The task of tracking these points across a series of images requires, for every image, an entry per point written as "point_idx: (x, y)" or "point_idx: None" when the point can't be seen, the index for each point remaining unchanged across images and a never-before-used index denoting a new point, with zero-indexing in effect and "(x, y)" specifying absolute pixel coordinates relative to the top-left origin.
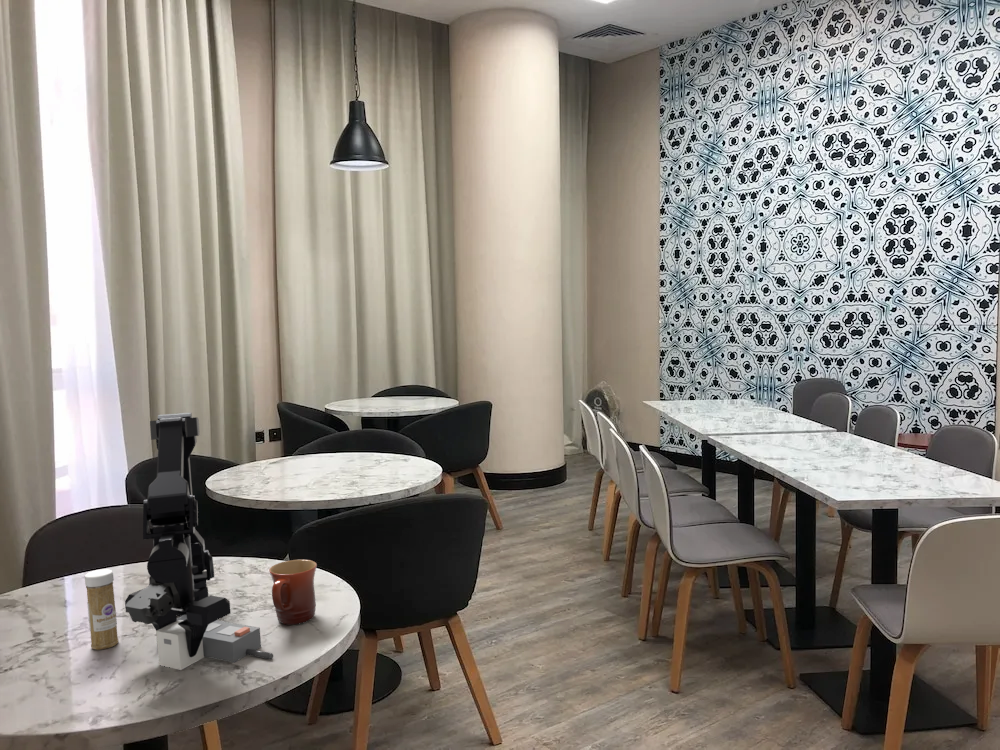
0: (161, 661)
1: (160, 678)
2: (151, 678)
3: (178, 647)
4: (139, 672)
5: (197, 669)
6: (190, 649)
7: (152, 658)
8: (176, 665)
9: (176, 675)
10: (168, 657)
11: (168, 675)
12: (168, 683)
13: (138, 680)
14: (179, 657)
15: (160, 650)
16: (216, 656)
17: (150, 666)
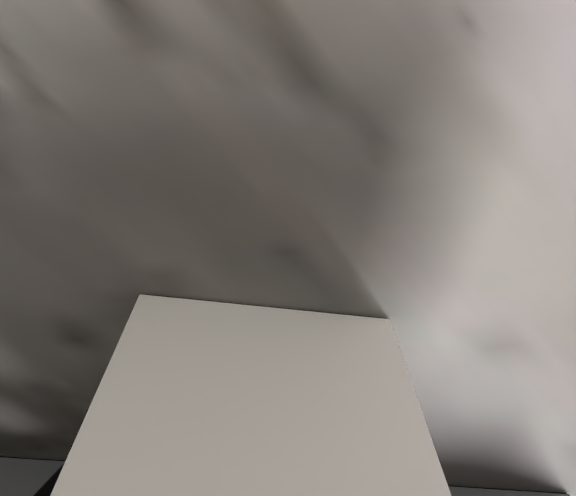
0: (364, 342)
1: (189, 125)
2: (283, 103)
3: (61, 483)
4: (492, 185)
5: (17, 329)
6: (46, 489)
7: (516, 388)
8: (178, 318)
9: (89, 210)
10: (274, 372)
11: (164, 194)
12: (2, 42)
13: (395, 28)
14: (109, 378)
15: (390, 428)
16: (29, 476)
17: (455, 293)
